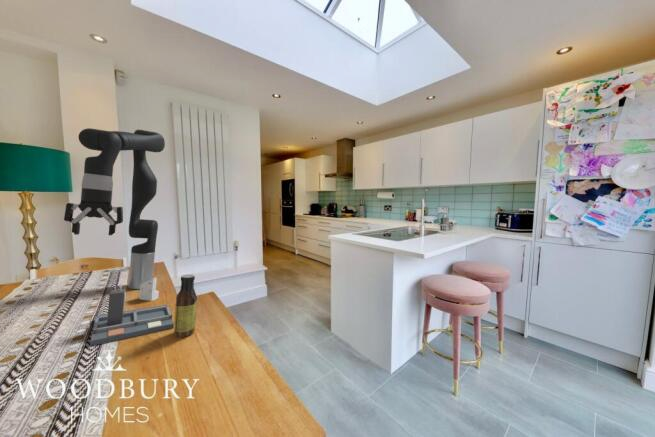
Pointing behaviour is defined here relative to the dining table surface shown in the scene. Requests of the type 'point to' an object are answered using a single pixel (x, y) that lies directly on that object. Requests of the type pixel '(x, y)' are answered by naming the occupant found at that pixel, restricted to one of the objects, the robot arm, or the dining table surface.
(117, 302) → the plug
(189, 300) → the sauce bottle
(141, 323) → the grey tray
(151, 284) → the white wedge bracket
